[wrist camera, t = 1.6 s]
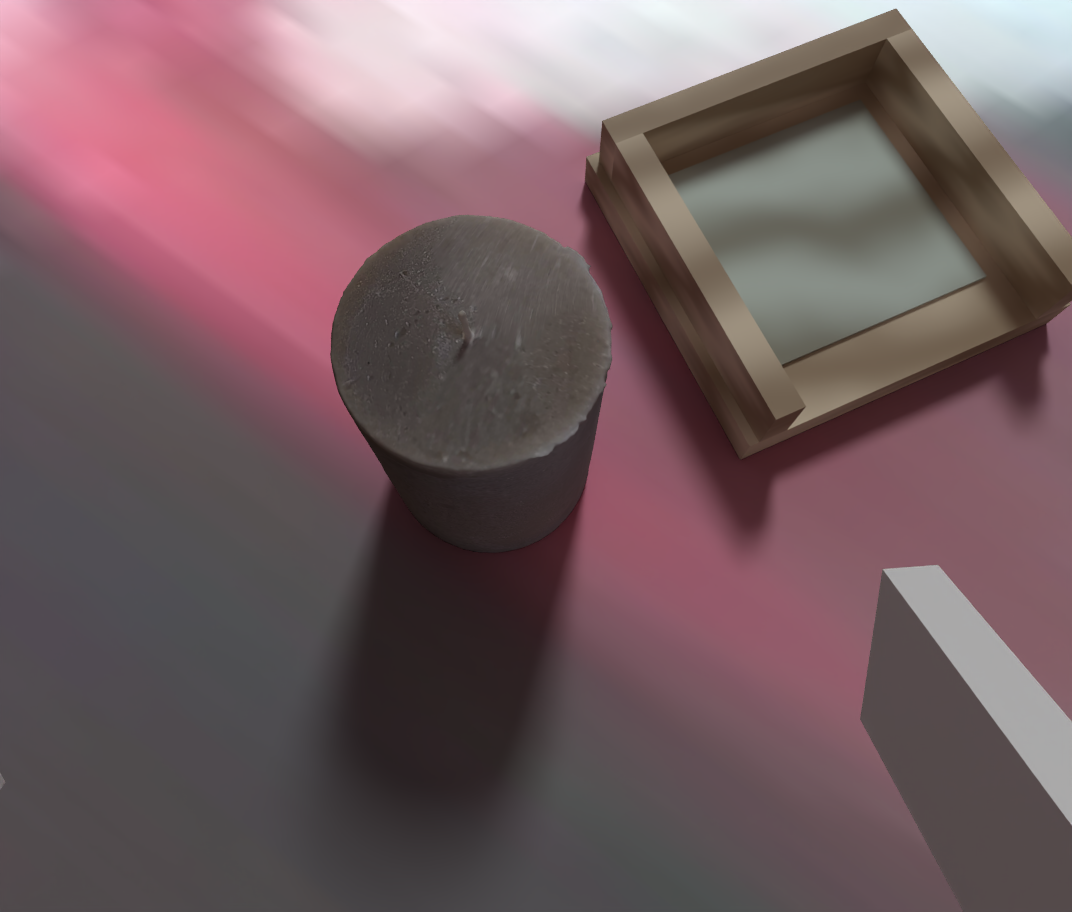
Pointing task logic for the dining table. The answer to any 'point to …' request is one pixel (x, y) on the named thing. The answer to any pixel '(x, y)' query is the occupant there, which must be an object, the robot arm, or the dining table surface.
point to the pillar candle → (476, 375)
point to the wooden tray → (827, 228)
